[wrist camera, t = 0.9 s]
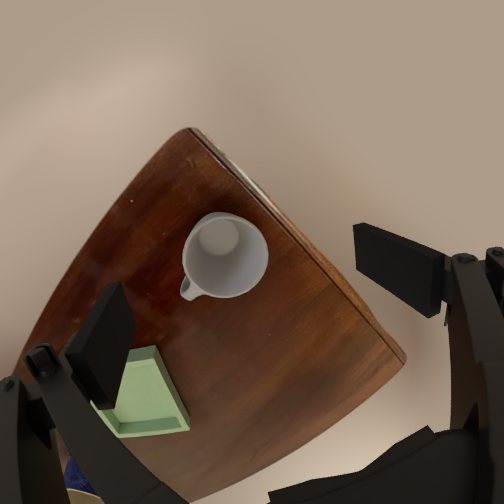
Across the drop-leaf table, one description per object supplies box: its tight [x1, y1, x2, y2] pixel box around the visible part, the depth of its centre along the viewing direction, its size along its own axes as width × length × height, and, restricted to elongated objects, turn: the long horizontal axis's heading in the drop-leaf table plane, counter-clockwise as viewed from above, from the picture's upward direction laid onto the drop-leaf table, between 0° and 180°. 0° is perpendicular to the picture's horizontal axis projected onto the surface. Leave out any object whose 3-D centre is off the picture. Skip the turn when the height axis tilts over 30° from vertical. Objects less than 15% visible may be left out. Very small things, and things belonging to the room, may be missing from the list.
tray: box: [90, 345, 190, 438], centre depth 36 cm, size 15×13×3 cm
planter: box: [63, 456, 104, 504], centre depth 36 cm, size 12×12×11 cm
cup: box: [180, 212, 268, 301], centre depth 30 cm, size 8×10×8 cm
